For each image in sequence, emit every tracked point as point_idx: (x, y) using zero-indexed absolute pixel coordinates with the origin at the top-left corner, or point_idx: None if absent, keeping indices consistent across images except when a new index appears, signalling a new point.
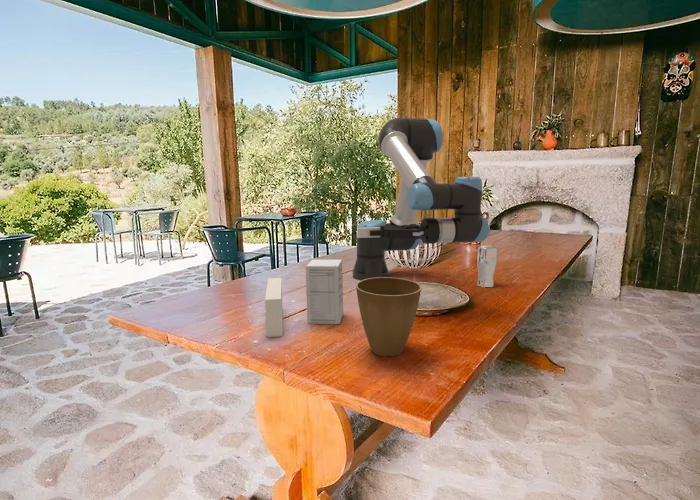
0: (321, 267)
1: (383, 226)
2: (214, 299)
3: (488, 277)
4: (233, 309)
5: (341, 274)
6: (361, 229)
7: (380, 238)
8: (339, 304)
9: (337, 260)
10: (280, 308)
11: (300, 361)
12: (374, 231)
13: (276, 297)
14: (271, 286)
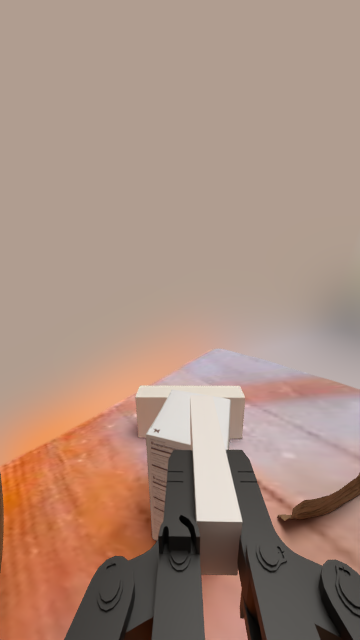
0: (161, 409)
1: (159, 534)
2: (264, 379)
3: None
4: None
5: None
6: (190, 410)
7: (240, 606)
8: (154, 509)
9: None
10: (136, 407)
11: (57, 454)
12: (167, 476)
13: (143, 393)
14: (196, 389)
